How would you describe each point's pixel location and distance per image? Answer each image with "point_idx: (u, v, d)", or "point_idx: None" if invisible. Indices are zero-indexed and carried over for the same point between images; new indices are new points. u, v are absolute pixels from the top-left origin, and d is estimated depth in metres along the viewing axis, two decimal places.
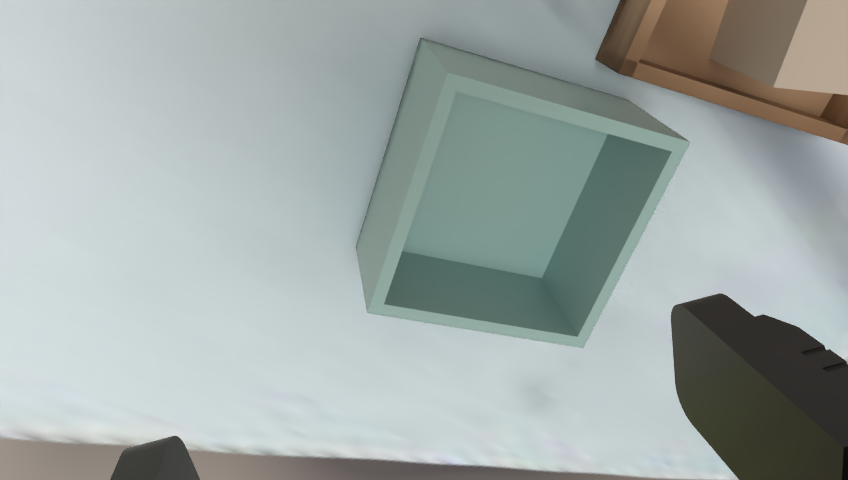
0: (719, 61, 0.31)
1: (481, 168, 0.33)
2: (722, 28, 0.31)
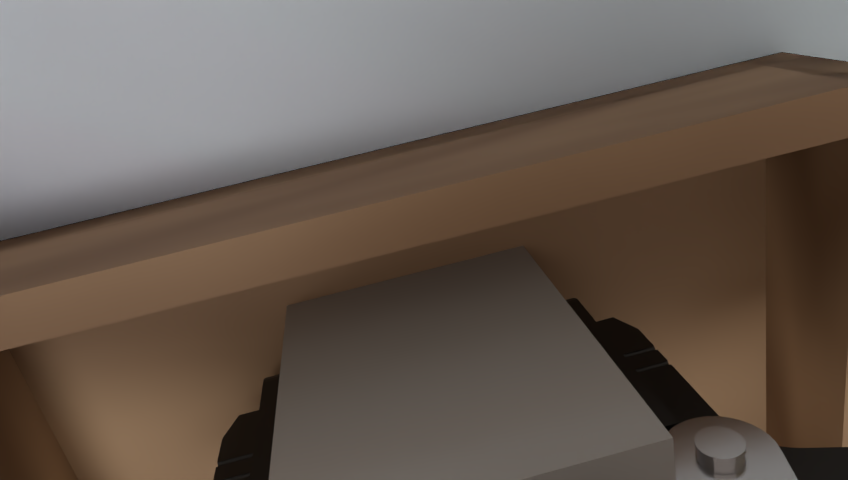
0: None
1: None
2: None
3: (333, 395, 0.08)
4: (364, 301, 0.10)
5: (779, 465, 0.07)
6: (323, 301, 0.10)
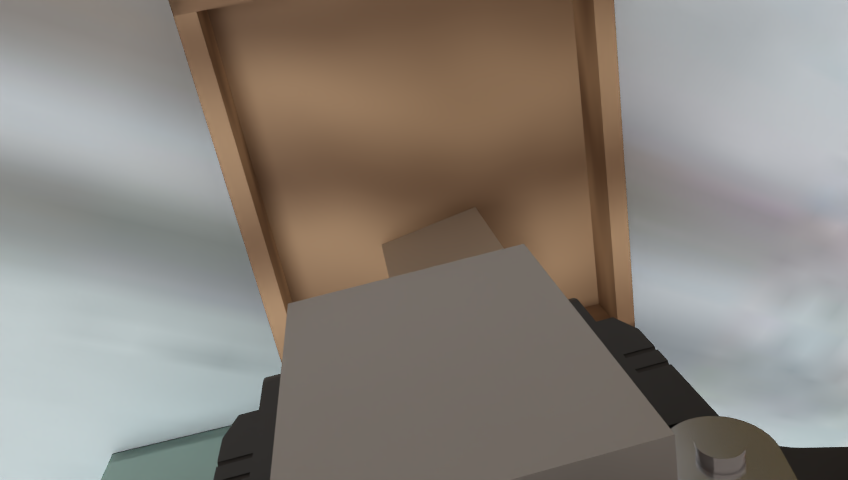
0: None
1: None
2: None
3: (335, 391, 0.08)
4: (365, 299, 0.10)
5: (779, 465, 0.07)
6: (324, 299, 0.10)
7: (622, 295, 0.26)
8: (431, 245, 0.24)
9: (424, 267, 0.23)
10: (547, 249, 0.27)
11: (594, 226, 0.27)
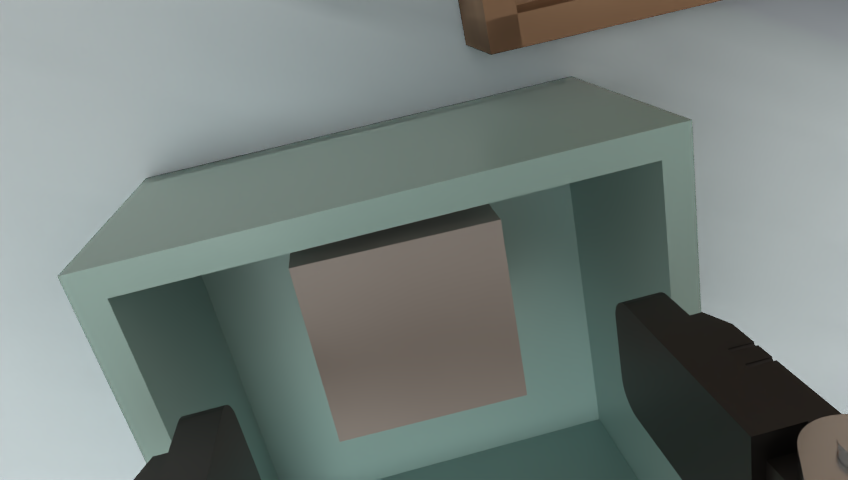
0: None
1: None
2: None
3: None
4: None
5: None
6: None
7: None
8: None
9: None
10: None
11: None
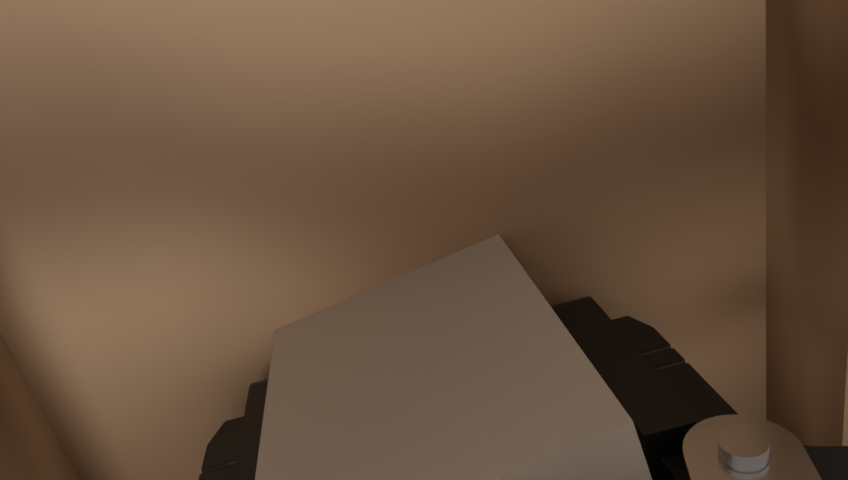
0: None
1: None
2: None
3: None
4: None
5: (803, 463, 0.07)
6: None
7: None
8: (388, 346, 0.09)
9: (358, 433, 0.07)
10: (663, 324, 0.12)
11: (776, 270, 0.11)
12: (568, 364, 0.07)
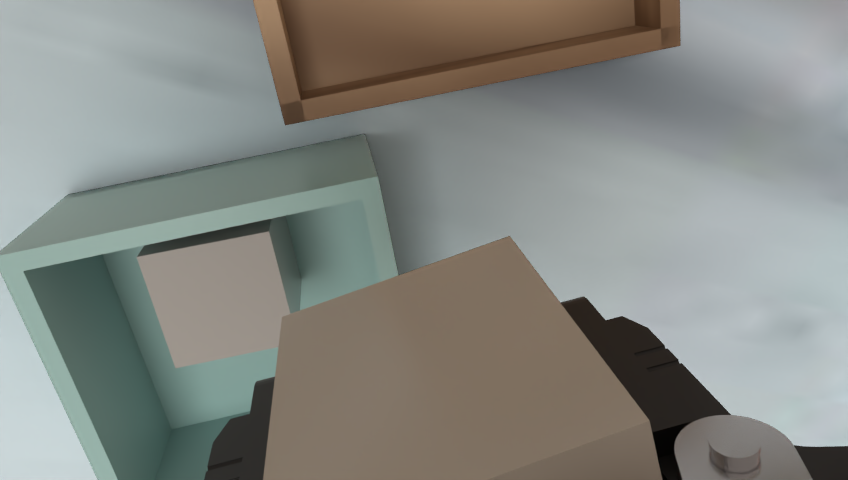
0: None
1: None
2: None
3: None
4: None
5: (794, 464, 0.07)
6: None
7: None
8: (399, 338, 0.09)
9: (370, 420, 0.08)
10: None
11: None
12: (583, 364, 0.07)
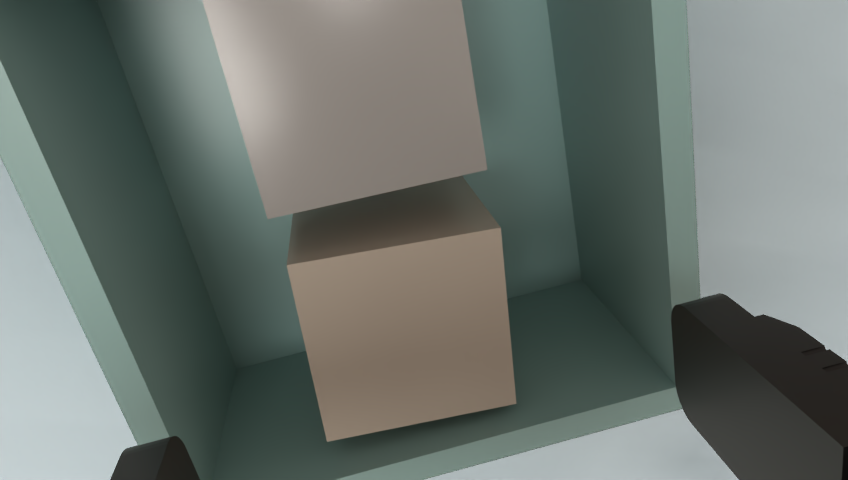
0: None
1: None
2: None
3: None
4: None
5: None
6: None
7: None
8: (373, 198, 0.15)
9: (353, 225, 0.13)
10: None
11: None
12: (475, 210, 0.13)
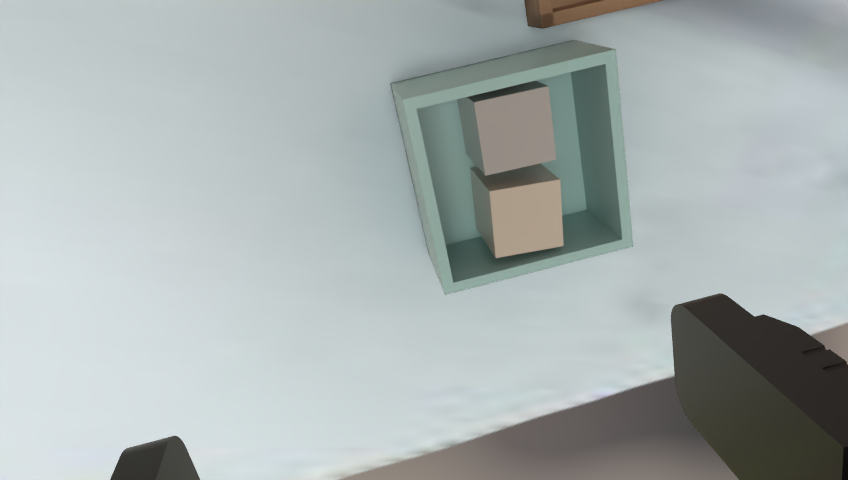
0: (479, 231, 0.41)
1: None
2: (474, 207, 0.41)
3: None
4: None
5: None
6: None
7: None
8: (506, 171, 0.38)
9: (505, 180, 0.37)
10: None
11: None
12: (549, 174, 0.37)
